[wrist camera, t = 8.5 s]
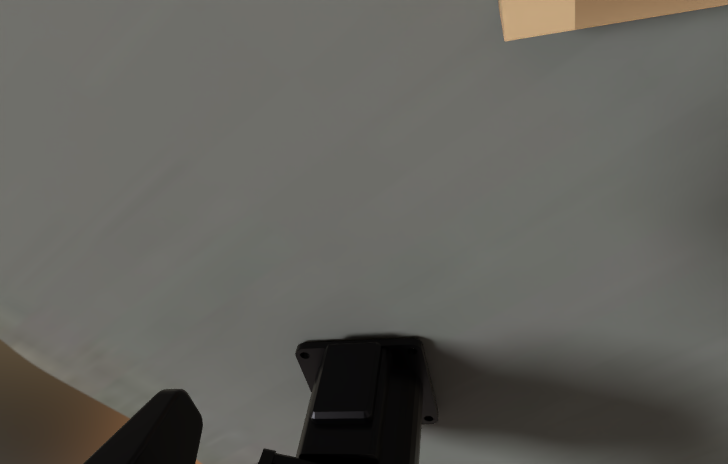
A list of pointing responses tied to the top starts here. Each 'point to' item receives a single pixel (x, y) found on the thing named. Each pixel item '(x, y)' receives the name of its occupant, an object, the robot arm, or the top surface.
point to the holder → (584, 13)
